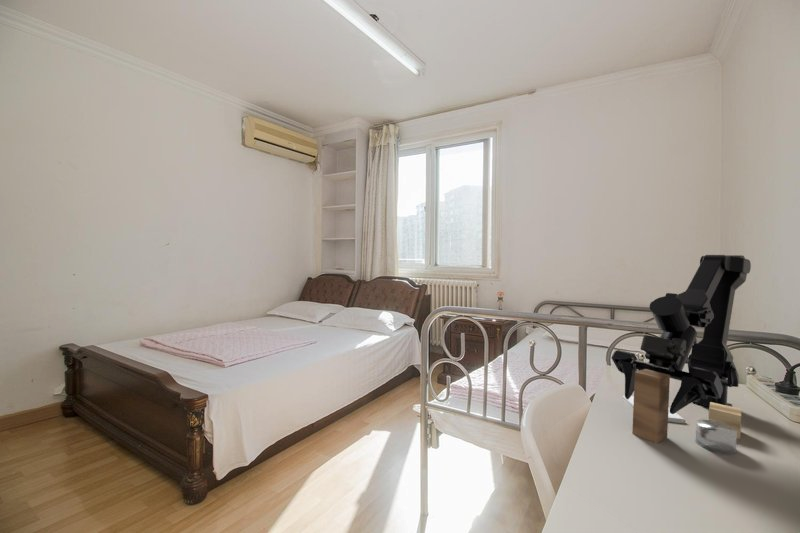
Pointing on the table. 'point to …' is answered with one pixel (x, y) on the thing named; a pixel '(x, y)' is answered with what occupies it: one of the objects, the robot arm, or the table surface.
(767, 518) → the table surface
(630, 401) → the external hard drive
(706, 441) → the grey tin
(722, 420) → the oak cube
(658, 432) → the walnut block
